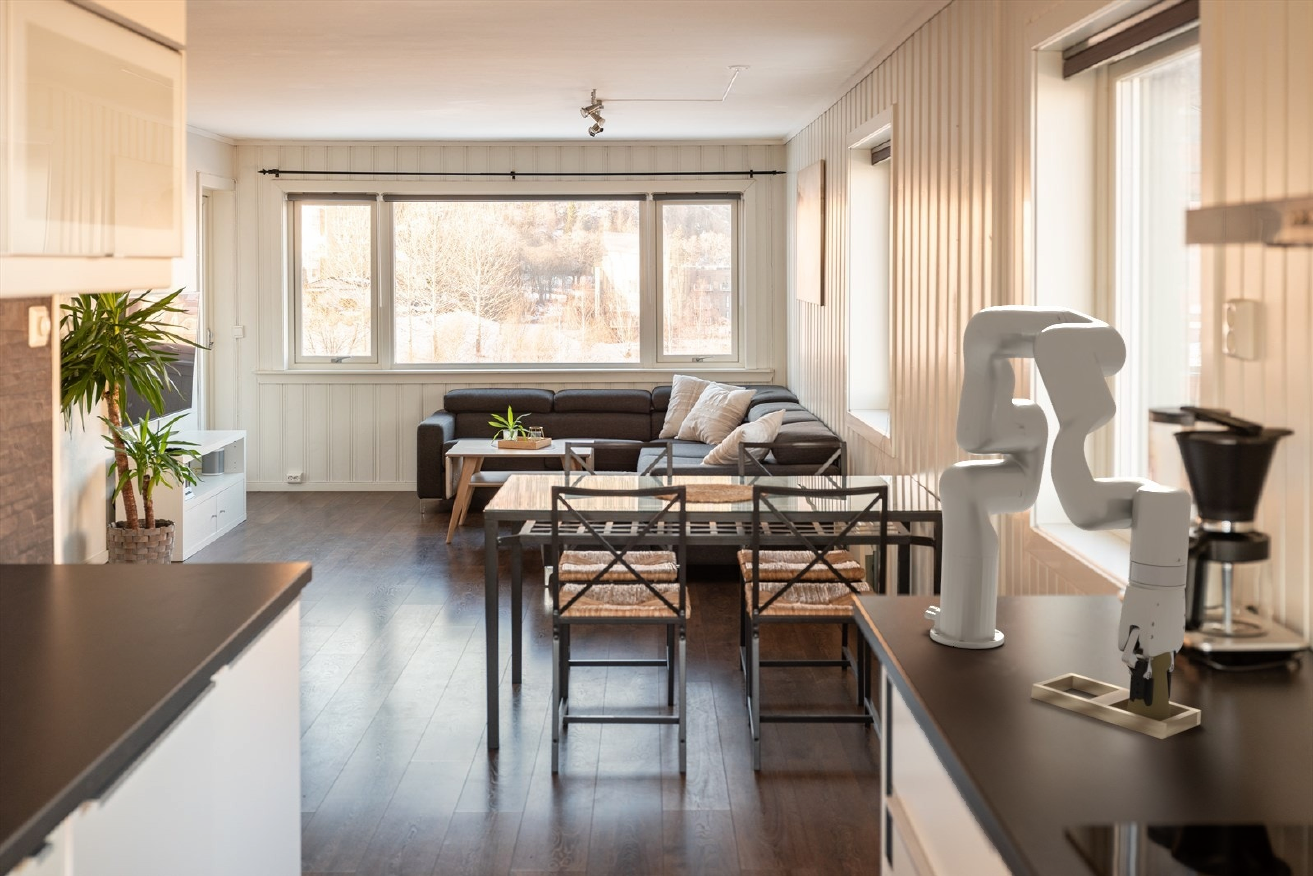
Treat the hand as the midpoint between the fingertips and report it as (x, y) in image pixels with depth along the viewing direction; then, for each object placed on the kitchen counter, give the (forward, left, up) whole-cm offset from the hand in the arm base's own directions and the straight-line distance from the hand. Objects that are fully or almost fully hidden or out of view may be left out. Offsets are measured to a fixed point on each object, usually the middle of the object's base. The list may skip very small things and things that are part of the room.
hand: (1149, 699), depth 171 cm
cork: (0, 0, -3) cm, 3 cm away
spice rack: (-6, 0, -3) cm, 6 cm away
